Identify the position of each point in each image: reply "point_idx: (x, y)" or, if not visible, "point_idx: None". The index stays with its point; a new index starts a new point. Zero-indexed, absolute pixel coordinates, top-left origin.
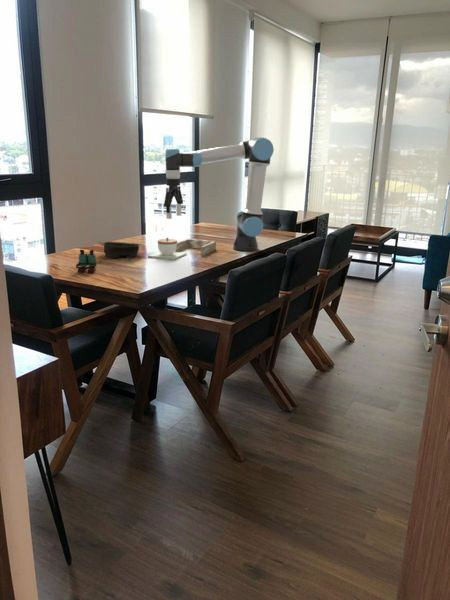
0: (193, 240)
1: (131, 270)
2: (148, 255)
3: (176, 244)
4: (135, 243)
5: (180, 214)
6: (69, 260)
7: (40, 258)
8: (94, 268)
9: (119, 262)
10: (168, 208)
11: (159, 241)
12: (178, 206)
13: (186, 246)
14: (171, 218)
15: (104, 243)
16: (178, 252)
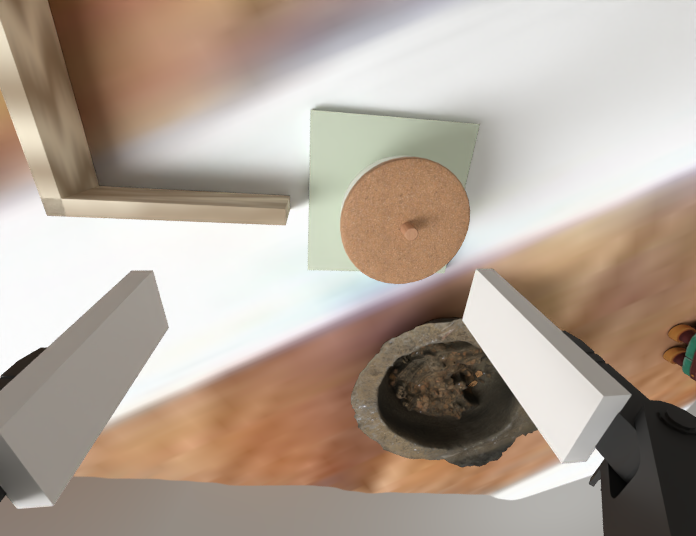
0: (49, 151)
1: (687, 222)
2: (441, 272)
3: (400, 156)
4: (366, 380)
5: (146, 286)
6: (538, 438)
7: (523, 490)
8: (690, 330)
9: (551, 319)
10: (629, 389)
11: (451, 258)
12: (73, 416)
13: (119, 189)
14: (481, 270)
15: (458, 446)
16: (316, 165)
